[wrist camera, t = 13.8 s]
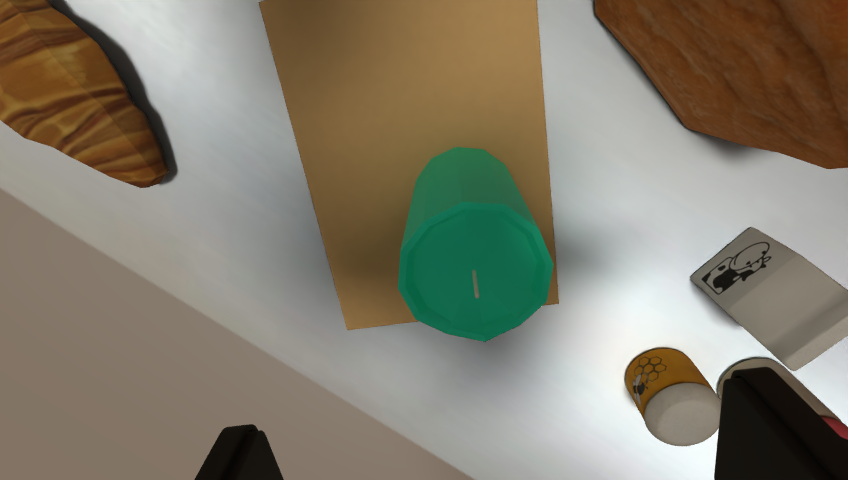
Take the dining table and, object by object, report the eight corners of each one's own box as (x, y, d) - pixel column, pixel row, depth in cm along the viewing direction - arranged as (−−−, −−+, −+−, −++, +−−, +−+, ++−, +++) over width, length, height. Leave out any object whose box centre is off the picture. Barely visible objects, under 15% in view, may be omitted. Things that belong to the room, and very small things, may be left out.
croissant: (-56, 4, 25) (-170, -5, 20) (23, -80, 23) (-80, -111, 19) (130, 207, 29) (71, 238, 24) (210, 147, 27) (162, 168, 23)
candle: (392, 190, 28) (357, 285, 17) (472, 123, 26) (493, 179, 15) (456, 262, 29) (463, 392, 18) (535, 203, 28) (597, 306, 16)
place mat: (259, 2, 24) (258, 1, 24) (531, -53, 23) (532, -54, 23) (347, 328, 32) (347, 330, 31) (558, 302, 30) (558, 303, 30)
